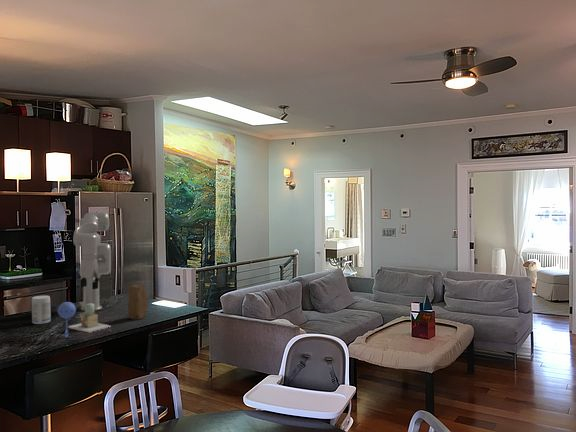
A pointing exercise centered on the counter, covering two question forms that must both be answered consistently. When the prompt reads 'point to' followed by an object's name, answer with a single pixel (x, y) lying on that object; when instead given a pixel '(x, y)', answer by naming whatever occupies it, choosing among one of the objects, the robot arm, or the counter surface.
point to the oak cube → (89, 321)
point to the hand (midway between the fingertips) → (89, 287)
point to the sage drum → (89, 309)
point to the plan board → (90, 329)
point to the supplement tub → (41, 309)
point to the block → (137, 302)
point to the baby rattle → (66, 312)
